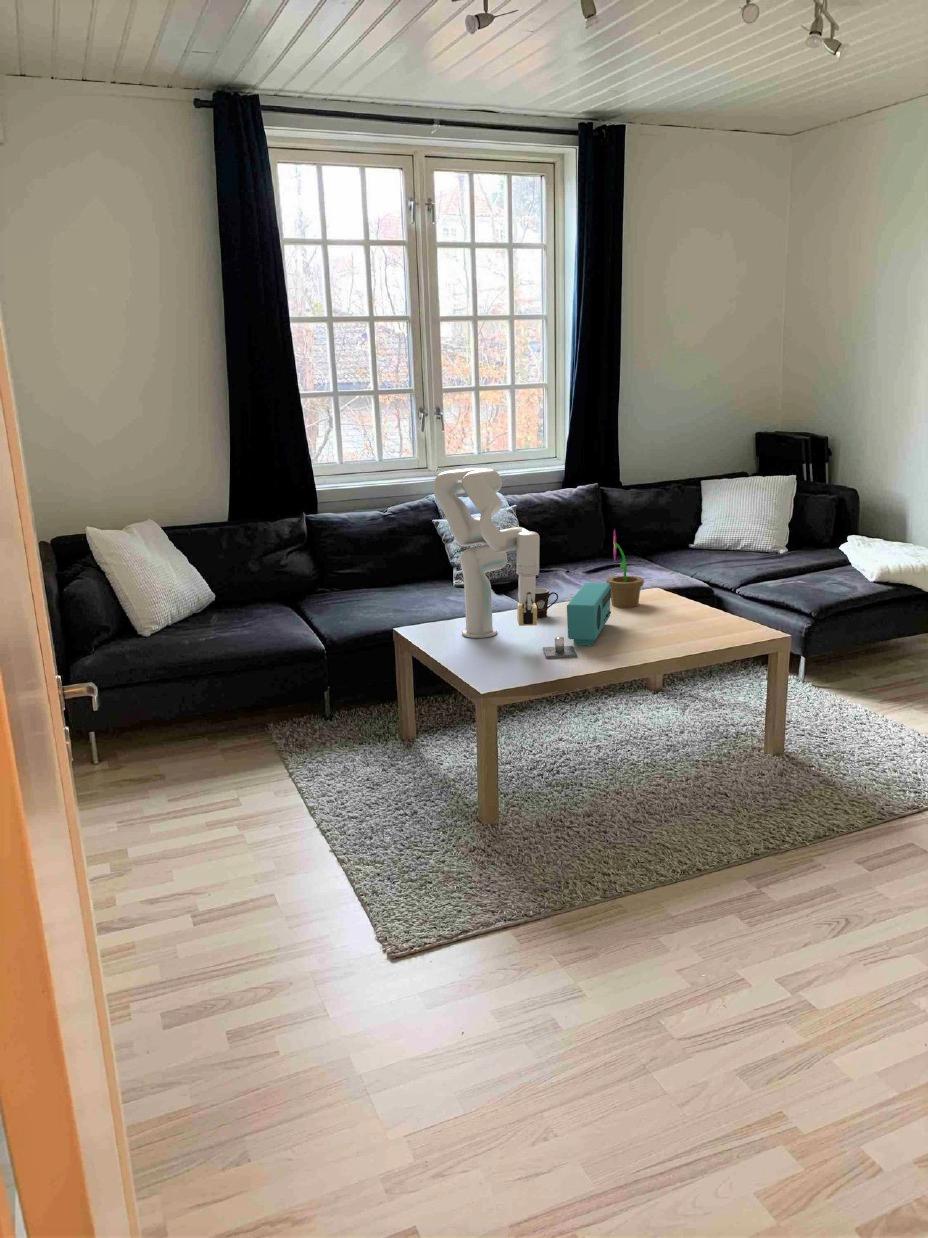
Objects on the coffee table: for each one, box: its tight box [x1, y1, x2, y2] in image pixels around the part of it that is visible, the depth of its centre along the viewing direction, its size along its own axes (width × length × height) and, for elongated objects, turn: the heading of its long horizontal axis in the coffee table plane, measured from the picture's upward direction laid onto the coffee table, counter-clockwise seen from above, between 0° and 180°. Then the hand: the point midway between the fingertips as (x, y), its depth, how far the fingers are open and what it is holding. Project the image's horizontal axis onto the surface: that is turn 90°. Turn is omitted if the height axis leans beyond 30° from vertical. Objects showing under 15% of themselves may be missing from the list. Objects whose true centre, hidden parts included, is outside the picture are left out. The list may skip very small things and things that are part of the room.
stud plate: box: [542, 636, 578, 660], centre depth 315 cm, size 10×10×5 cm
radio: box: [566, 582, 612, 647], centre depth 334 cm, size 34×10×15 cm, turn 163°
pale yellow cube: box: [516, 602, 538, 627], centre depth 320 cm, size 6×6×6 cm
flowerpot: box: [606, 528, 645, 609], centre depth 371 cm, size 14×14×30 cm
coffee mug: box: [535, 587, 559, 619], centre depth 362 cm, size 12×9×10 cm
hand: (527, 620), depth 321 cm, fingers closed on pale yellow cube, 6 cm apart
